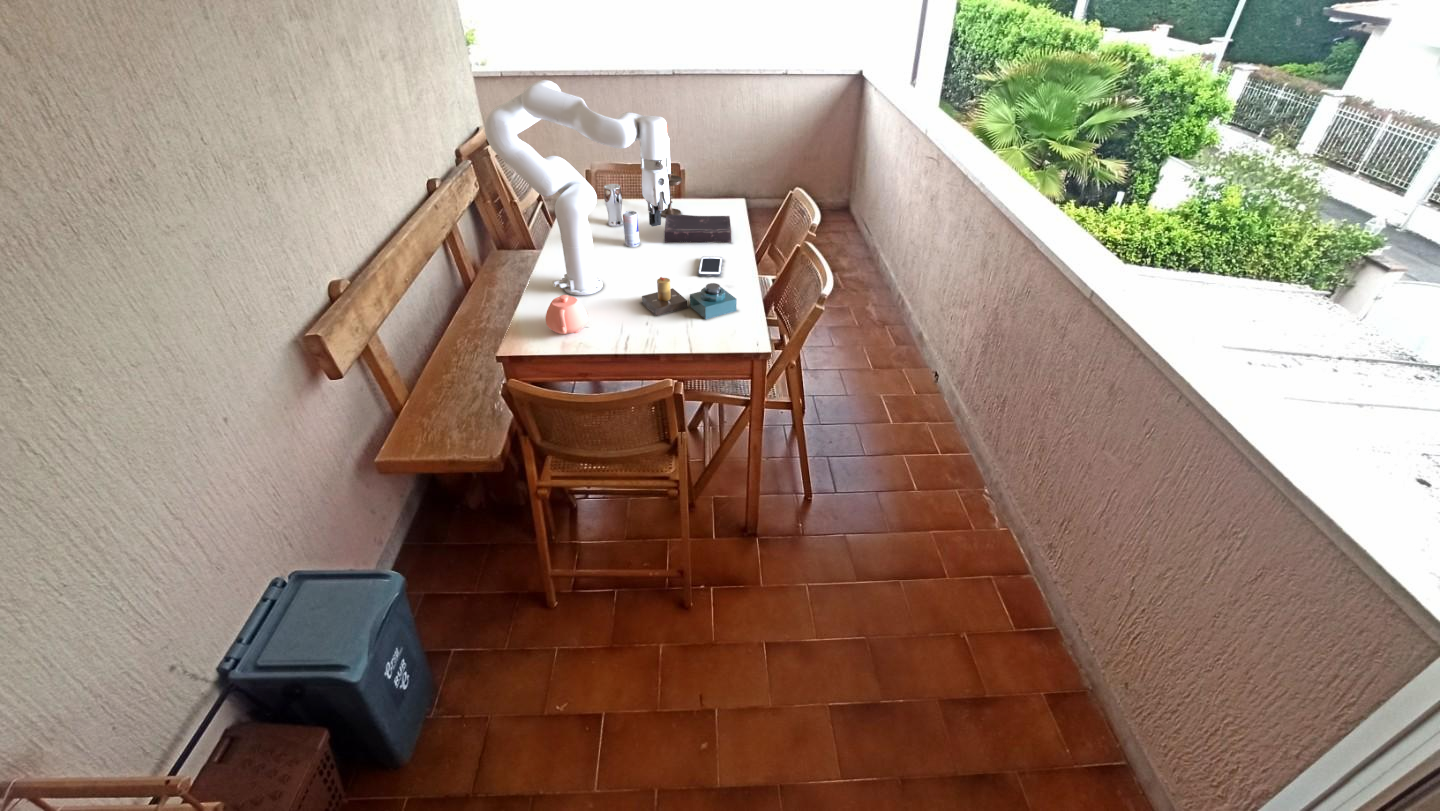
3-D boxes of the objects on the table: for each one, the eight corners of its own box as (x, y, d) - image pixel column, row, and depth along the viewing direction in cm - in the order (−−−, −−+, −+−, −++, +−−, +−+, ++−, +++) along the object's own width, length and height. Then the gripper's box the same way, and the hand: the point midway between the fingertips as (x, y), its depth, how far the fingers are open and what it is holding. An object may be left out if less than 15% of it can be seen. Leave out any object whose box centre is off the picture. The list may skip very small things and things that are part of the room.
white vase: (604, 222, 260) (600, 184, 251) (621, 219, 262) (617, 182, 253) (609, 228, 255) (606, 190, 246) (626, 225, 257) (623, 187, 248)
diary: (731, 244, 242) (731, 231, 239) (664, 244, 241) (664, 231, 238) (729, 226, 257) (729, 213, 254) (666, 226, 256) (666, 214, 254)
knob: (673, 299, 200) (672, 280, 196) (661, 302, 198) (660, 283, 194) (667, 294, 203) (666, 275, 199) (655, 297, 201) (654, 278, 197)
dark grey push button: (710, 296, 195) (710, 290, 193) (703, 291, 198) (703, 285, 196) (722, 293, 196) (722, 287, 195) (715, 288, 199) (715, 281, 198)
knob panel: (656, 316, 196) (655, 308, 195) (642, 303, 203) (641, 295, 202) (687, 307, 201) (687, 300, 199) (673, 295, 208) (672, 287, 206)
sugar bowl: (591, 317, 195) (587, 286, 189) (585, 340, 184) (581, 308, 178) (551, 317, 195) (546, 287, 189) (542, 341, 184) (536, 309, 178)
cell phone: (698, 276, 219) (698, 273, 218) (701, 258, 231) (701, 256, 230) (720, 277, 218) (720, 274, 218) (722, 259, 230) (722, 256, 230)
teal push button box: (705, 319, 195) (705, 301, 191) (689, 306, 202) (689, 288, 198) (736, 311, 199) (736, 293, 196) (719, 298, 206) (720, 281, 202)
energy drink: (640, 242, 243) (638, 211, 236) (638, 247, 239) (635, 216, 232) (627, 241, 244) (624, 210, 237) (623, 247, 239) (621, 215, 232)
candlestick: (672, 207, 274) (669, 120, 253) (688, 214, 267) (685, 125, 246) (651, 213, 268) (646, 124, 248) (666, 220, 261) (662, 129, 241)
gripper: (677, 169, 181) (677, 231, 192) (654, 154, 191) (655, 215, 202) (652, 172, 178) (654, 235, 189) (631, 157, 188) (633, 218, 199)
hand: (655, 224), depth 196 cm, fingers closed
